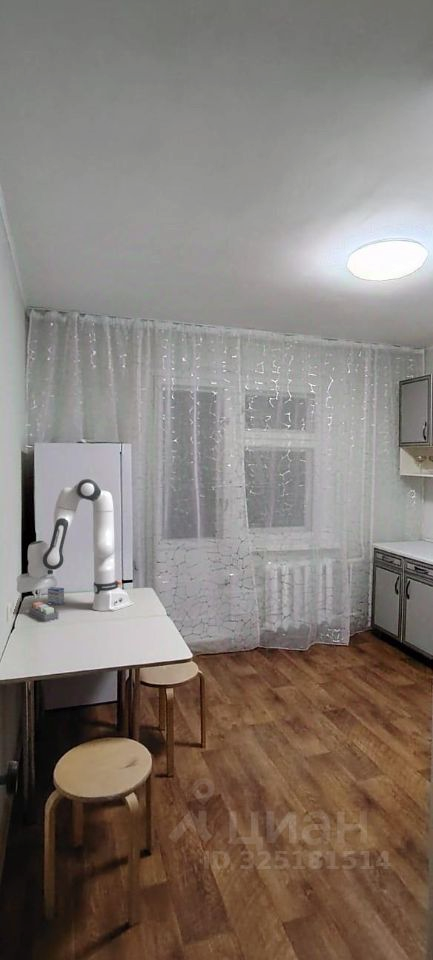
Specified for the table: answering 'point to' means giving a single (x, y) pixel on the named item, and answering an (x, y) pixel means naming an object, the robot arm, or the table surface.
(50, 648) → the table surface
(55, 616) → the grey compartment tray
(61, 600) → the medicine box
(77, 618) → the table surface
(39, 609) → the light grey square block
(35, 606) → the terracotta key
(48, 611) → the sage key
